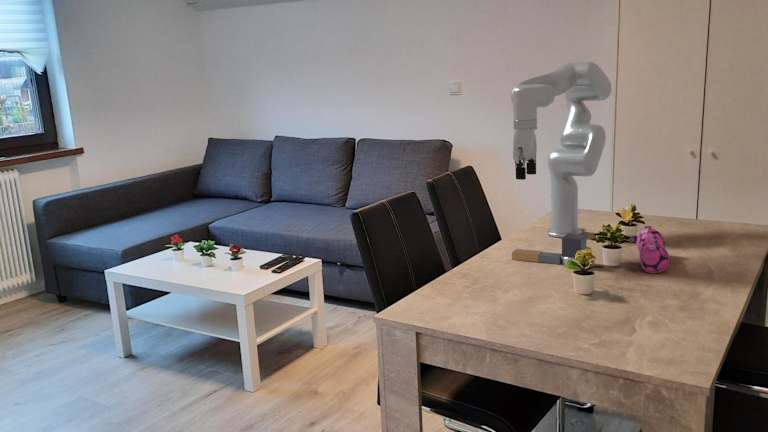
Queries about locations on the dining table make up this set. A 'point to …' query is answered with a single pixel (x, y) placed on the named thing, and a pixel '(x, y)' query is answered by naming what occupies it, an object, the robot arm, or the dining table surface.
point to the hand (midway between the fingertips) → (526, 176)
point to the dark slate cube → (573, 244)
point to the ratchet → (539, 256)
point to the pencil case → (652, 250)
